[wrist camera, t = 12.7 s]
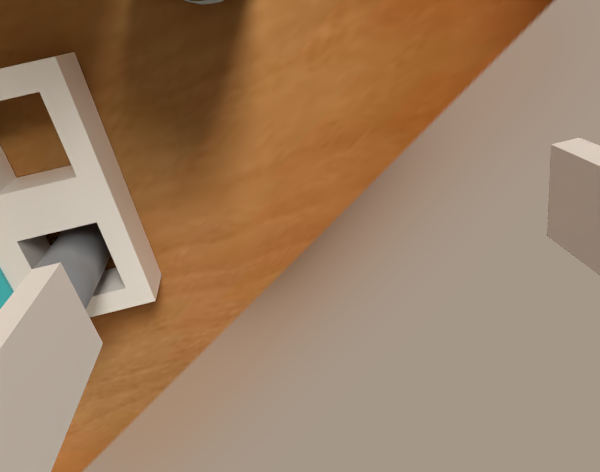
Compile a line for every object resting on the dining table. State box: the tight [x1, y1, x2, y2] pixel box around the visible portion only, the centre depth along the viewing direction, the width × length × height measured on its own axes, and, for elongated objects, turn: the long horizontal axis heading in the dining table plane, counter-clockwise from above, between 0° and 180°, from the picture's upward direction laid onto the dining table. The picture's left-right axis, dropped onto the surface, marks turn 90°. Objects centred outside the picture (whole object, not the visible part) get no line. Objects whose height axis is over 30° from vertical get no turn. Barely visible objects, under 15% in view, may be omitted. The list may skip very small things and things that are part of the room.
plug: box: [34, 222, 111, 310], centre depth 33 cm, size 4×4×10 cm
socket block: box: [0, 52, 162, 317], centre depth 33 cm, size 14×18×4 cm
